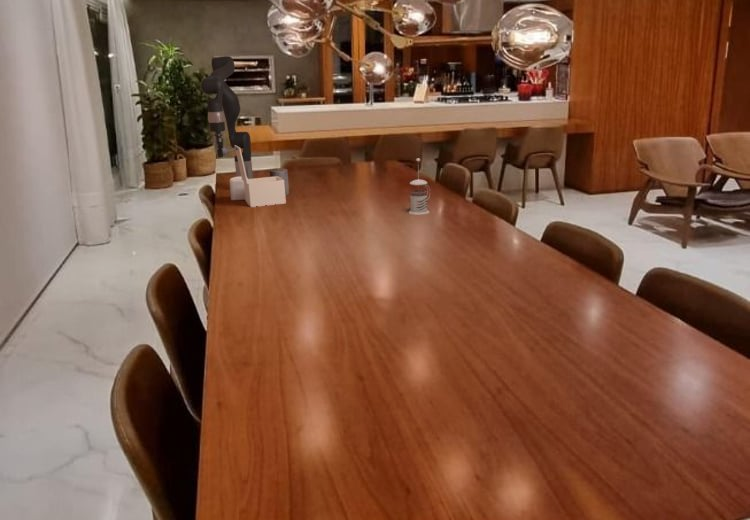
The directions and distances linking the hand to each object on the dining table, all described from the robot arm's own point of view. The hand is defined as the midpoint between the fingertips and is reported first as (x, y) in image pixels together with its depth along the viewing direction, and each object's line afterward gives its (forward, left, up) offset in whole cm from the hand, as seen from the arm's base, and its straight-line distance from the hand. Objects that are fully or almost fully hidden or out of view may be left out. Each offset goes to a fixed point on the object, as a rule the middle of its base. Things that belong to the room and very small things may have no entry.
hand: (220, 156), depth 315 cm
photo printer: (-16, +10, -26) cm, 32 cm away
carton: (0, +20, -25) cm, 33 cm away
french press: (+60, +80, -26) cm, 103 cm away
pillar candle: (-18, +32, -26) cm, 45 cm away
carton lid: (0, +10, -4) cm, 11 cm away
